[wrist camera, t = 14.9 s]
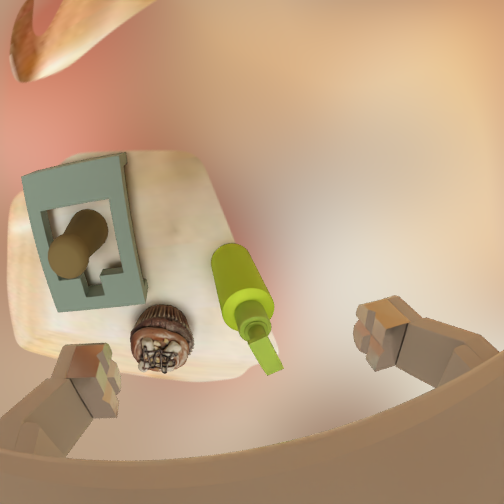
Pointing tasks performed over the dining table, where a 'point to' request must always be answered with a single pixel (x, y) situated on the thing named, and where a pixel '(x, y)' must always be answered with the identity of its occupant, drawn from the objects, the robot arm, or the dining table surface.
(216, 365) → the dining table surface
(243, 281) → the soap dispenser
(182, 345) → the cupcake
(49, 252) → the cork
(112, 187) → the grey-green slotted stand
